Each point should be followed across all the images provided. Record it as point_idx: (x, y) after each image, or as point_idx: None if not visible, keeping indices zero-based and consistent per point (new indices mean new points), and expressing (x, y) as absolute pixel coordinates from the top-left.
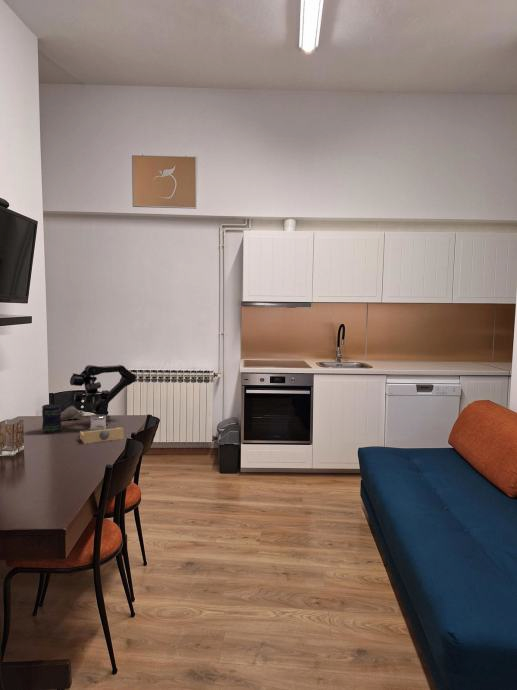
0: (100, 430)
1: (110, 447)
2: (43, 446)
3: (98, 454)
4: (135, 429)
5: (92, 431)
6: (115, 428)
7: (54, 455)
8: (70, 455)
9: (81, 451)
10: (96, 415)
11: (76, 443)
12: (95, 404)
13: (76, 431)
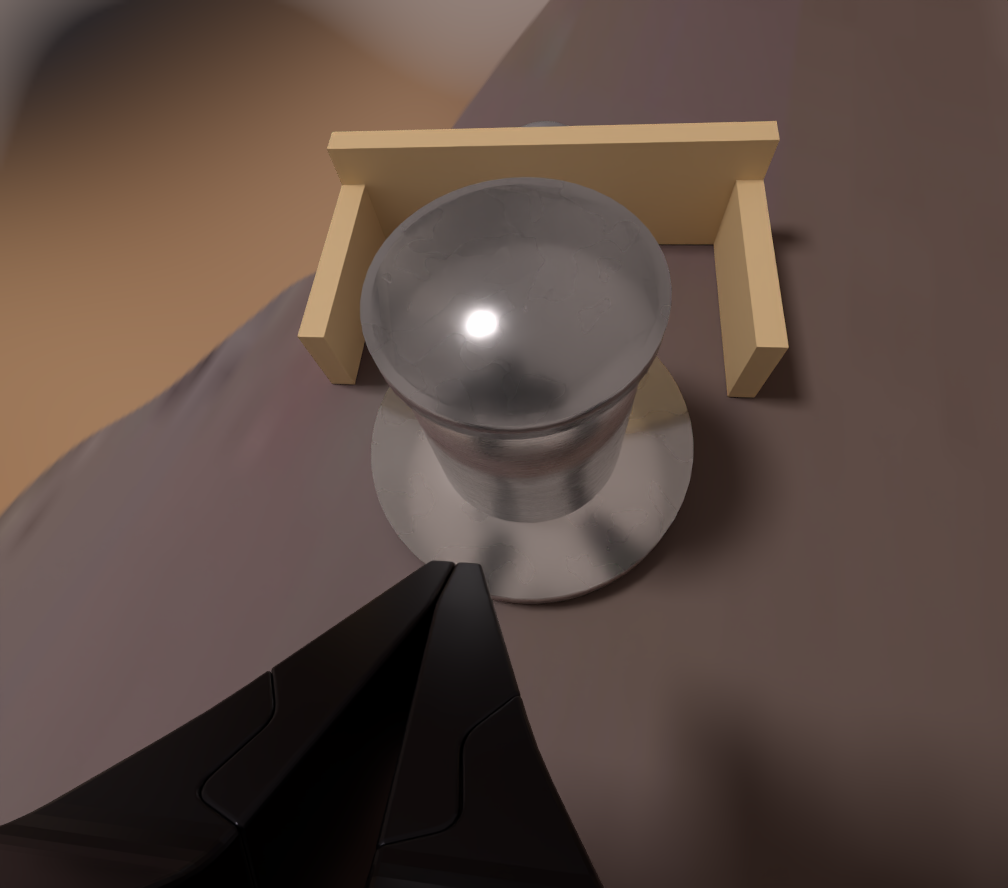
0: (583, 133)
1: (555, 89)
2: None
3: (675, 5)
4: (74, 486)
5: (677, 128)
6: (410, 144)
7: (998, 66)
8: (870, 36)
9: (782, 80)
10: (525, 334)
11: (806, 269)
12: (370, 607)
13: (761, 831)
